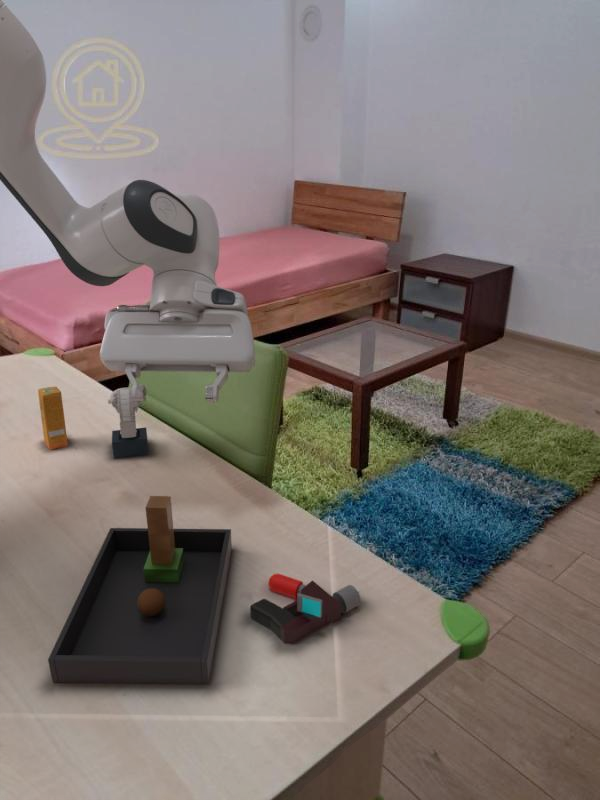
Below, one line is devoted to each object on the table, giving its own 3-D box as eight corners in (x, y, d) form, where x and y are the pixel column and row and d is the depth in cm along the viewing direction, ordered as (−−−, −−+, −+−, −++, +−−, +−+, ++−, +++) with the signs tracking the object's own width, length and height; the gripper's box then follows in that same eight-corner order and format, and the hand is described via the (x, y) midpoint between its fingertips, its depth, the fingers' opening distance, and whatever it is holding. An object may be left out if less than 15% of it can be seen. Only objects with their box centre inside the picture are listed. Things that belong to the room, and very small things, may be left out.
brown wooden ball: (135, 622, 69) (132, 601, 68) (141, 603, 72) (139, 582, 70) (163, 622, 69) (160, 601, 68) (168, 603, 72) (166, 582, 70)
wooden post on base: (144, 582, 75) (136, 511, 71) (152, 560, 78) (144, 491, 74) (178, 582, 75) (172, 511, 71) (184, 561, 78) (178, 492, 74)
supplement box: (70, 445, 107) (62, 391, 103) (49, 451, 105) (40, 396, 101) (65, 438, 109) (56, 384, 105) (44, 443, 107) (34, 389, 103)
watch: (147, 438, 109) (141, 379, 105) (149, 460, 102) (142, 398, 98) (113, 442, 108) (106, 382, 104) (113, 465, 101) (105, 402, 96)
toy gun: (370, 607, 72) (372, 573, 70) (286, 658, 65) (286, 622, 63) (316, 564, 79) (316, 532, 77) (235, 605, 72) (233, 571, 70)
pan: (53, 687, 62) (47, 659, 60) (113, 550, 81) (110, 527, 80) (208, 688, 62) (206, 661, 60) (231, 552, 81) (230, 529, 79)
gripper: (100, 293, 83) (86, 390, 79) (255, 294, 83) (251, 392, 78) (113, 316, 89) (101, 408, 84) (258, 317, 89) (254, 409, 84)
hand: (175, 400), depth 81 cm, fingers open, 8 cm apart
